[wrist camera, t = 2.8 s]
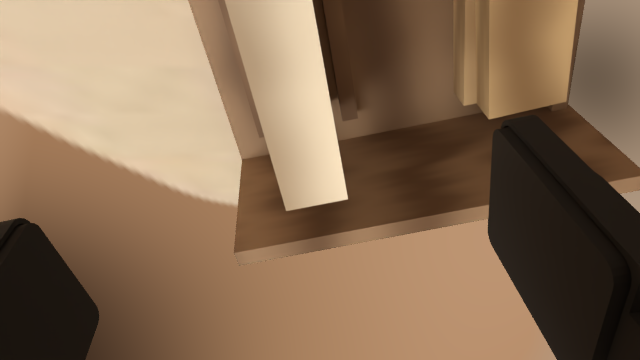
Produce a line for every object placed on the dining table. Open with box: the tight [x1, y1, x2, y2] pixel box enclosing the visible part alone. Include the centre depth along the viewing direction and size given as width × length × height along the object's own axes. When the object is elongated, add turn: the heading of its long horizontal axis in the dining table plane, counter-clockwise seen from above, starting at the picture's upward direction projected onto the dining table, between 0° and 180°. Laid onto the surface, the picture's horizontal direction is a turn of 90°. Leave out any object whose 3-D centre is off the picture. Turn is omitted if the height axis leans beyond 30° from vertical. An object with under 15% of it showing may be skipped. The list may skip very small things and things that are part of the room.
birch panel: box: [225, 0, 348, 211], centre depth 21 cm, size 3×16×10 cm, turn 10°
